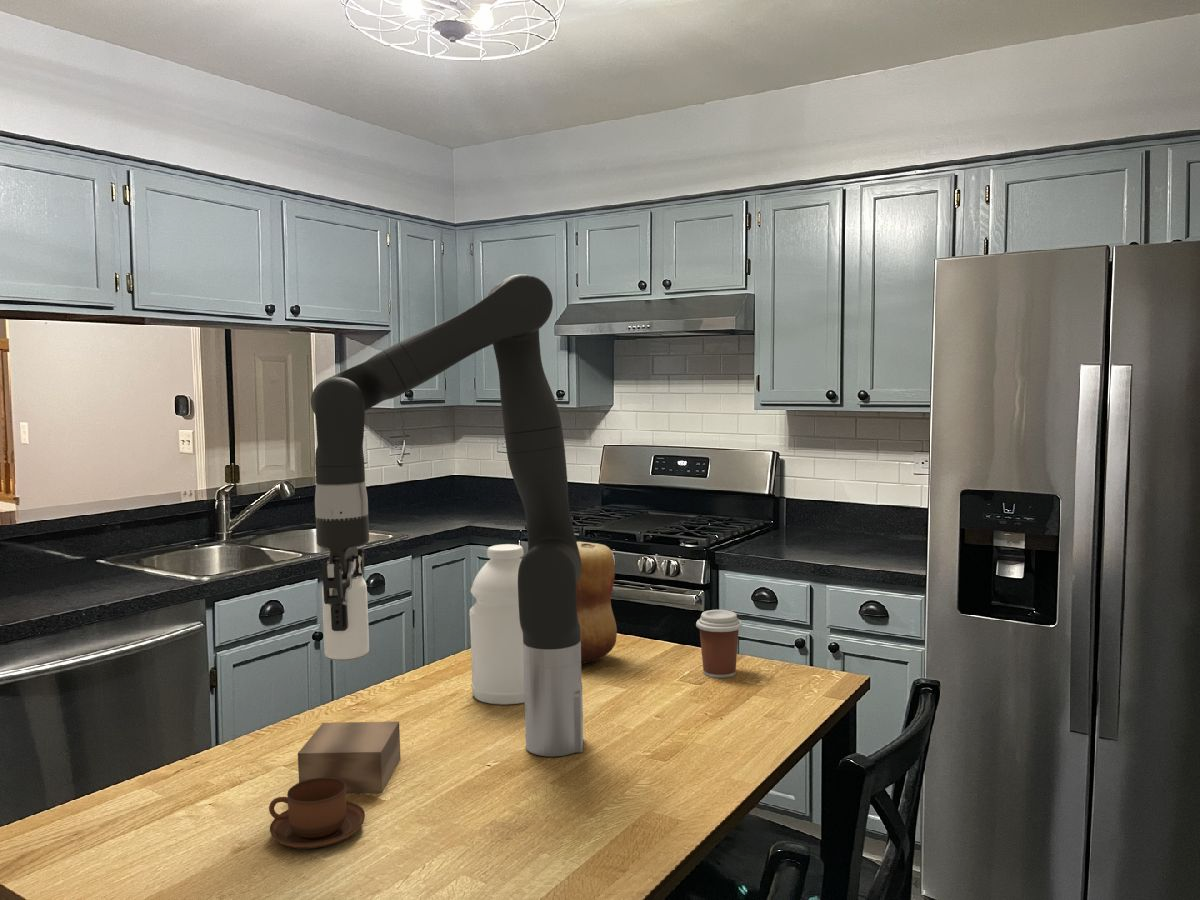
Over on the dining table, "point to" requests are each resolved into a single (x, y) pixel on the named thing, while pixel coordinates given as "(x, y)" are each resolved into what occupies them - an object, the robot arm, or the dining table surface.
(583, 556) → the butternut squash
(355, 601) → the can
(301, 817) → the cup and saucer
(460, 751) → the dining table surface
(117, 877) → the dining table surface
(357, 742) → the walnut block
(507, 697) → the bottle
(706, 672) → the coffee cup
